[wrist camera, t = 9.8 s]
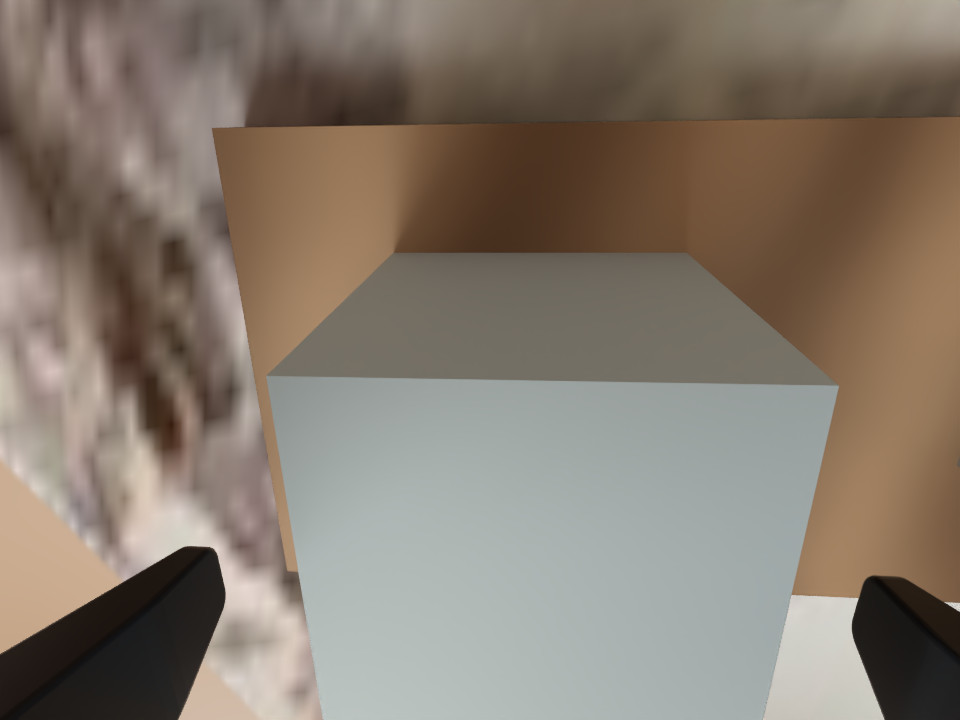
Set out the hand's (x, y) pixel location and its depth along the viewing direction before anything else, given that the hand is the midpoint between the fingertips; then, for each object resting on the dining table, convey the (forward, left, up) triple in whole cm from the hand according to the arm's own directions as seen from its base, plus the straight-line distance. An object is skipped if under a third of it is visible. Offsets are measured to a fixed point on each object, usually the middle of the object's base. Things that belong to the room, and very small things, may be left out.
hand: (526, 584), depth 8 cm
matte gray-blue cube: (0, 0, -7) cm, 7 cm away
